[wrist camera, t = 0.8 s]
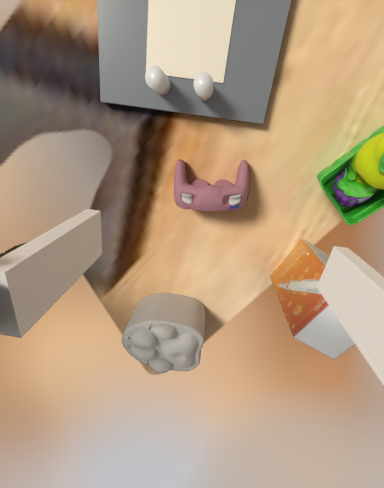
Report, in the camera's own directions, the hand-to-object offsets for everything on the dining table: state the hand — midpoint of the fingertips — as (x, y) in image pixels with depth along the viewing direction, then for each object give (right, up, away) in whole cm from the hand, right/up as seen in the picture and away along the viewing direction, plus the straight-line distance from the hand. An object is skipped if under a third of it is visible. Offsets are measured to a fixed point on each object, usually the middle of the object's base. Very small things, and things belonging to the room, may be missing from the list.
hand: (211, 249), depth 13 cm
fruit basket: (+20, +11, +17) cm, 29 cm away
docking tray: (-1, +26, +12) cm, 28 cm away
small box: (+16, -3, +24) cm, 29 cm away
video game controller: (+2, +9, +20) cm, 22 cm away
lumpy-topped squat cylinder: (-5, -13, +30) cm, 33 cm away
